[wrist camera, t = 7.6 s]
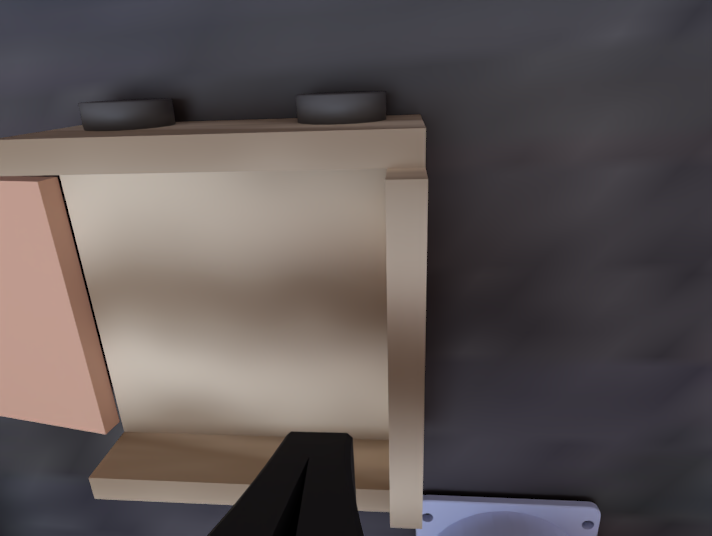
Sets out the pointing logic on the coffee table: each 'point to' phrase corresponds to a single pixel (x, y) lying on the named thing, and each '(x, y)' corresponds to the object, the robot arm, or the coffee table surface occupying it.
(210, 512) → the coffee table surface
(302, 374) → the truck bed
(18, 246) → the panel
